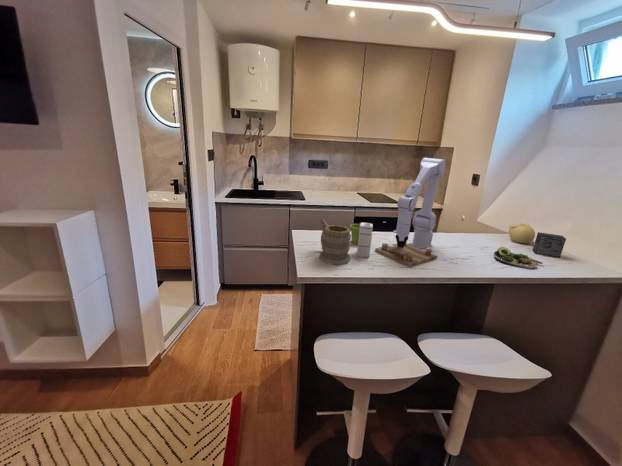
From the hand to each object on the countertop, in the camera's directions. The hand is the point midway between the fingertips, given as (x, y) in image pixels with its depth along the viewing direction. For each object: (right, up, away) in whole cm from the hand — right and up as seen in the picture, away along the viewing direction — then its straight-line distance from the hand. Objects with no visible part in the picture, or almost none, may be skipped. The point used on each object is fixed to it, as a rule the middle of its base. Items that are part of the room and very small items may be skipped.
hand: (399, 250), depth 135 cm
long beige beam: (-3, 0, 0) cm, 3 cm away
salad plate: (+55, -5, +3) cm, 55 cm away
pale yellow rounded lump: (+79, +3, +32) cm, 85 cm away
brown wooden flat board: (+3, -2, +1) cm, 4 cm away
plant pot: (-18, +3, +14) cm, 23 cm away
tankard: (-33, -2, -5) cm, 33 cm away
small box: (+80, -3, +14) cm, 81 cm away
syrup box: (-17, -2, -1) cm, 18 cm away
